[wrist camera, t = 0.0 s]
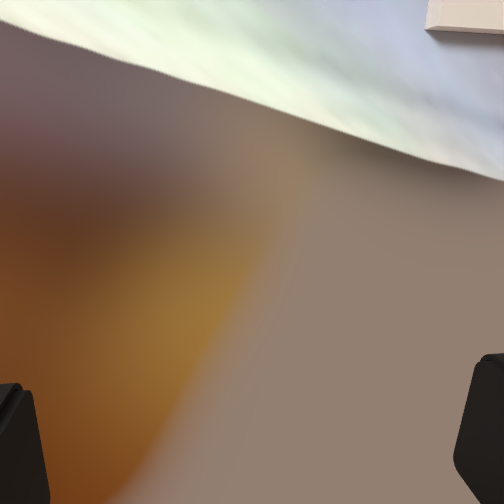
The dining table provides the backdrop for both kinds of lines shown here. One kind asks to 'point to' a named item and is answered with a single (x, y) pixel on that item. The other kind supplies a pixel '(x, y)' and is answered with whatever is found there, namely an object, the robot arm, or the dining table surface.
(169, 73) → the dining table surface
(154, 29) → the dining table surface
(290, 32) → the dining table surface
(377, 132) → the dining table surface
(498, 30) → the fader console
